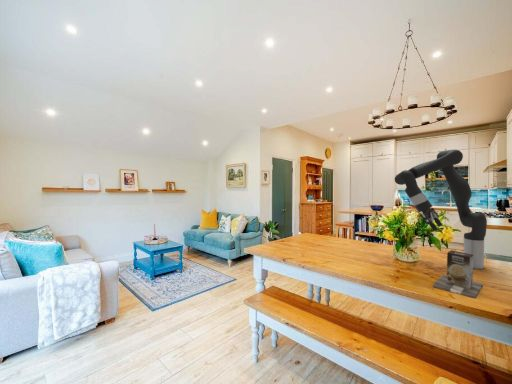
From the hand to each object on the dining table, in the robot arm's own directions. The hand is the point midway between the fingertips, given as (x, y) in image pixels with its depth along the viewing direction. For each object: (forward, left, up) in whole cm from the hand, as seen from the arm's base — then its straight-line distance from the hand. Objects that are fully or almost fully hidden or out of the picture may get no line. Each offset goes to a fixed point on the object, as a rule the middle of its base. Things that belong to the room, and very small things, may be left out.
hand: (438, 227), depth 129 cm
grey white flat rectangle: (+6, +10, -28) cm, 30 cm away
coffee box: (+6, +10, -27) cm, 29 cm away
